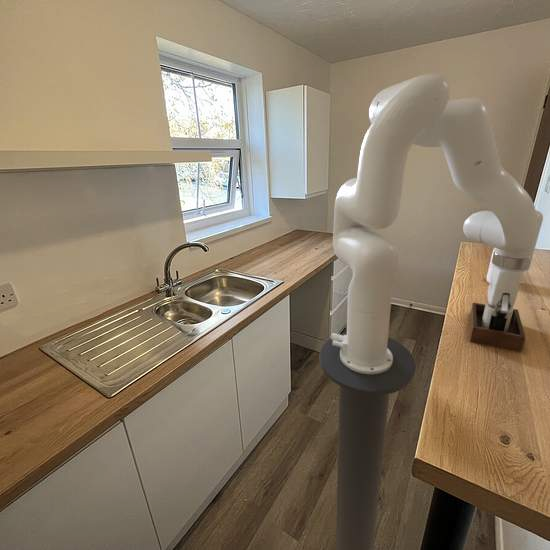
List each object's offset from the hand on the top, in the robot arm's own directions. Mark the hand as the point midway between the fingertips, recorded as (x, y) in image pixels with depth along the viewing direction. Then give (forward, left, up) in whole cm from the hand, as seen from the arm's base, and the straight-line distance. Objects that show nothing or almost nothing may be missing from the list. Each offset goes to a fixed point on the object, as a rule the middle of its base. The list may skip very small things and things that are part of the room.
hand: (495, 322), depth 80 cm
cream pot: (0, 0, -2) cm, 2 cm away
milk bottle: (+3, +36, -3) cm, 36 cm away
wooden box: (0, 0, -3) cm, 3 cm away
